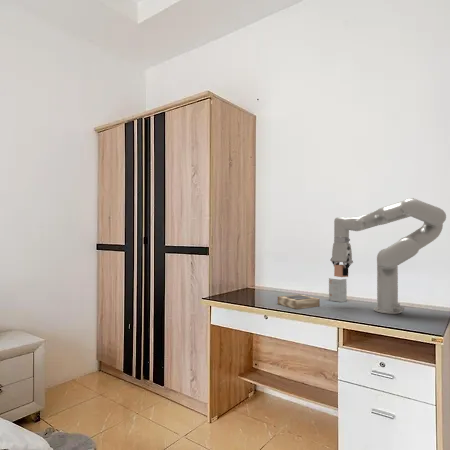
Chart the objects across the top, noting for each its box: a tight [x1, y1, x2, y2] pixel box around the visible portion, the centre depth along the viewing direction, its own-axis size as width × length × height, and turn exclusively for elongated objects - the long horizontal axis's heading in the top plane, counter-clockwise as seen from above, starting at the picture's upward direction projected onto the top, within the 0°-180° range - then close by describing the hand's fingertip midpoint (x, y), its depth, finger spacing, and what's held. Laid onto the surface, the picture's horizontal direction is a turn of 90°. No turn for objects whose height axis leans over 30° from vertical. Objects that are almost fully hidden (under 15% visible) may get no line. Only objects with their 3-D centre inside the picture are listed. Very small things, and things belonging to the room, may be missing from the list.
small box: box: [328, 277, 348, 303], centre depth 212 cm, size 8×6×13 cm
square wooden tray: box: [277, 293, 321, 310], centre depth 198 cm, size 16×16×4 cm
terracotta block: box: [333, 264, 349, 278], centre depth 192 cm, size 5×5×6 cm
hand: (341, 274), depth 192 cm, fingers closed on terracotta block, 5 cm apart
